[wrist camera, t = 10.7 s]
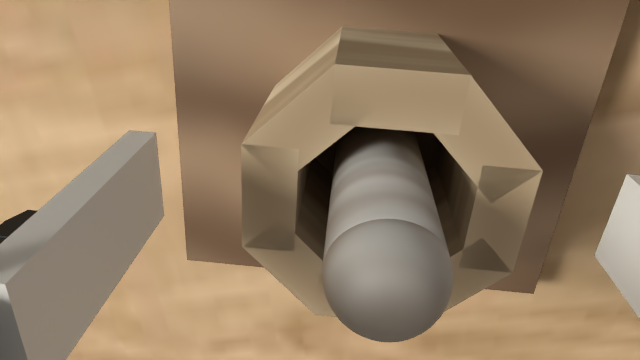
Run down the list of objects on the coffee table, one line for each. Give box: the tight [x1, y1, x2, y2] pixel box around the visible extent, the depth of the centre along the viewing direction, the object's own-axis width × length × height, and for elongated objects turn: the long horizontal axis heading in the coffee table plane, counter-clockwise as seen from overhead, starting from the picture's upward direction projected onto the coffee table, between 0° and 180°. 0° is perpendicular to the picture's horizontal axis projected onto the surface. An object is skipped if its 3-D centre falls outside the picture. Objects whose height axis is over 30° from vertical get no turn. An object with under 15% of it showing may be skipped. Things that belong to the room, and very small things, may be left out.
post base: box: [169, 0, 630, 342], centre depth 15 cm, size 14×16×12 cm
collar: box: [241, 26, 543, 317], centre depth 17 cm, size 8×8×6 cm
